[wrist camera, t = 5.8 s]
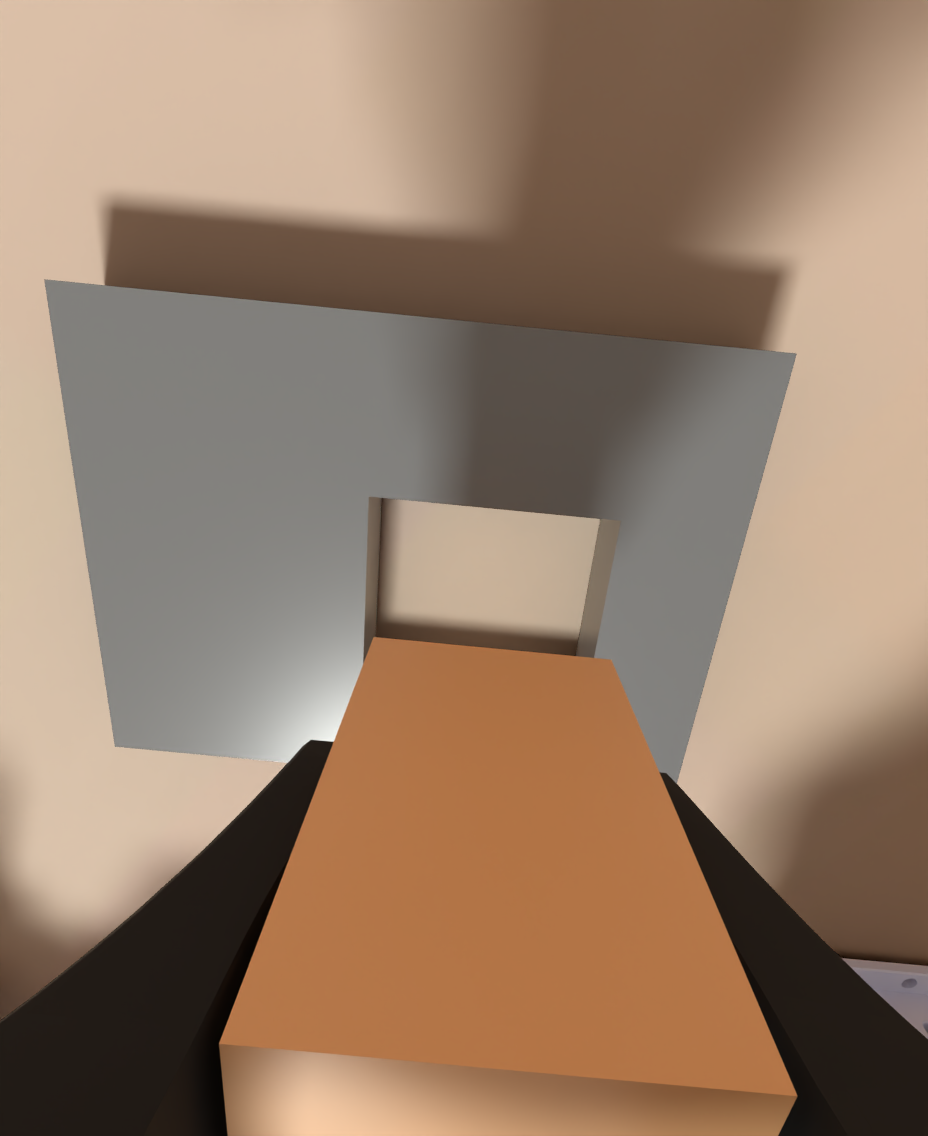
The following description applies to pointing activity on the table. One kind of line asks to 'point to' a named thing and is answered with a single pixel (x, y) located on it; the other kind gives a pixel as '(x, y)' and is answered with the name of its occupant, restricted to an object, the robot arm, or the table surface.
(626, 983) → the orange rectangular block
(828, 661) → the table surface
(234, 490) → the socket plate
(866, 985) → the robot arm
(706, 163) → the table surface
